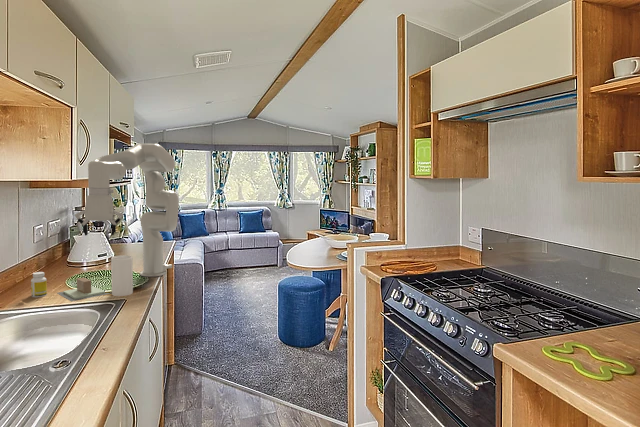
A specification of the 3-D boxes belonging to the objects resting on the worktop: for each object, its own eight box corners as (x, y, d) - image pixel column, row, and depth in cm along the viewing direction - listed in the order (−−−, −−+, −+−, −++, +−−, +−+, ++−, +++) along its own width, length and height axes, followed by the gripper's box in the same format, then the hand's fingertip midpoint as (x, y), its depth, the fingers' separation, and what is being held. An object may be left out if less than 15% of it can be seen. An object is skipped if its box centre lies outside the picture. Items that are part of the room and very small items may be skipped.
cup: (125, 297, 184) (124, 259, 182) (107, 295, 185) (106, 258, 184) (136, 292, 192) (136, 256, 190) (120, 290, 193) (119, 254, 192)
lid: (92, 287, 195) (92, 274, 195) (105, 293, 188) (104, 279, 187) (63, 292, 186) (62, 279, 186) (74, 299, 178) (74, 285, 178)
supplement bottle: (50, 295, 184) (49, 272, 183) (38, 298, 179) (37, 275, 178) (39, 293, 185) (39, 270, 184) (28, 297, 180) (27, 273, 179)
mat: (95, 286, 198) (95, 285, 198) (111, 294, 188) (111, 293, 188) (56, 293, 186) (56, 292, 186) (71, 302, 176) (71, 301, 176)
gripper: (123, 192, 183) (123, 233, 185) (76, 191, 177) (76, 233, 178) (122, 193, 176) (122, 235, 178) (73, 192, 170) (73, 236, 172)
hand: (99, 234), depth 178 cm, fingers open, 9 cm apart
